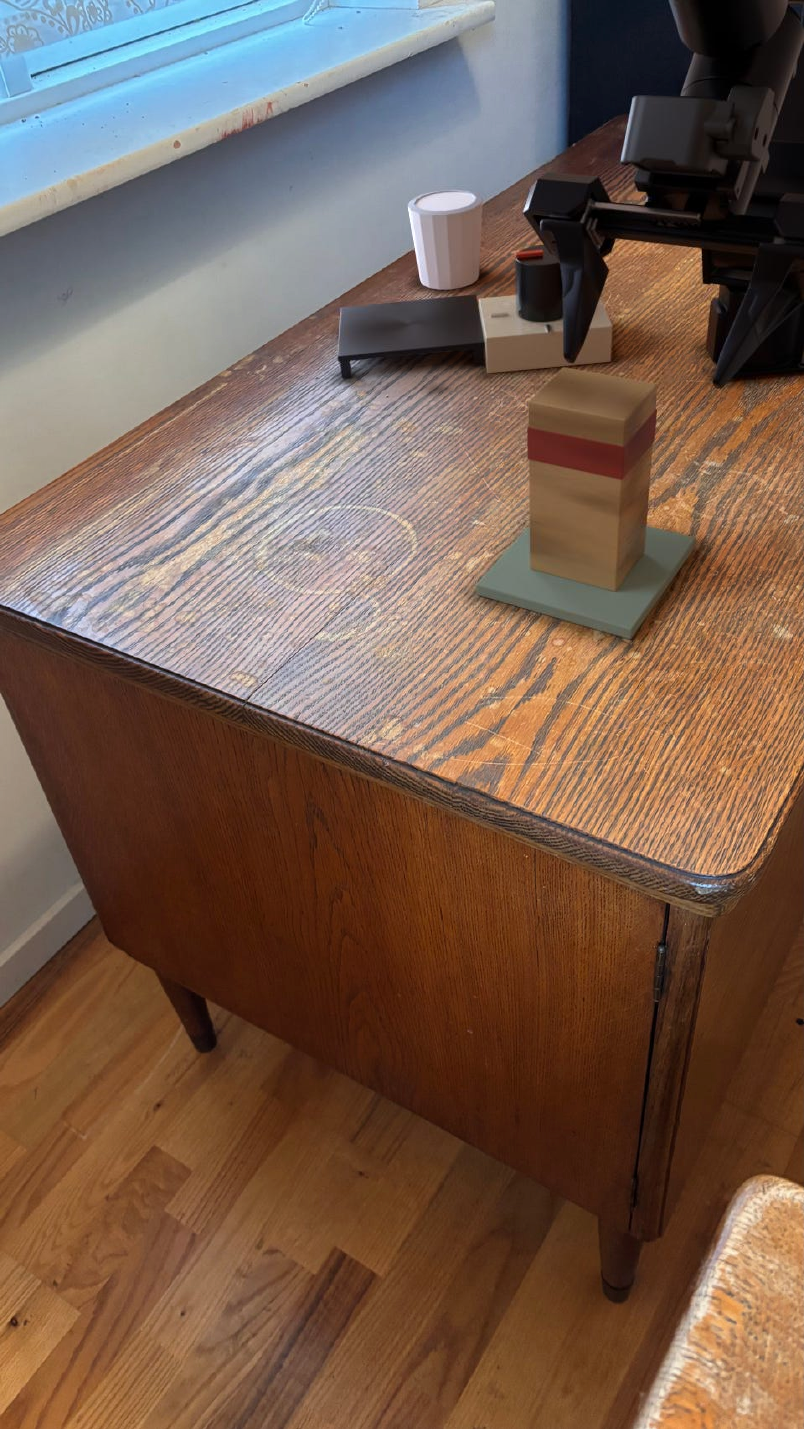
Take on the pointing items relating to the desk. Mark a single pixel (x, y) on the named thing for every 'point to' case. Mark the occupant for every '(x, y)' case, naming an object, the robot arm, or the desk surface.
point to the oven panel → (536, 338)
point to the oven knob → (538, 285)
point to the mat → (584, 601)
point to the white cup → (447, 237)
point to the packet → (590, 475)
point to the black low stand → (410, 329)
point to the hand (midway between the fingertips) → (640, 373)
